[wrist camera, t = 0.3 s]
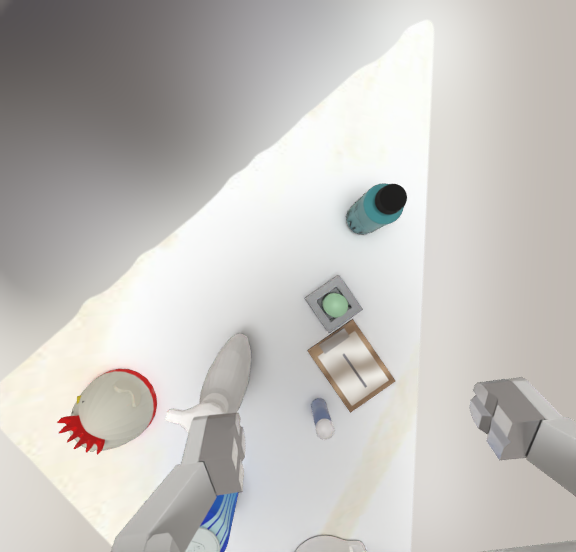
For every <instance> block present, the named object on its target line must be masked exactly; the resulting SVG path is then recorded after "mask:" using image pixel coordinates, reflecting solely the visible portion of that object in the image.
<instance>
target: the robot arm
mask: <svg viewBox="0 0 576 552" xmlns="http://www.w3.org/2000/svg"><path fill="white" fill-rule="evenodd" d="M473 391H474V392H475V394H476V395H475V396H474V397H473V398H472V399H471V402H470V411H471V416H472V418H473V420H474V422H475V424H476V425H477V427H478V428H479V429H480V430H482V431H483V432H485V433H486V434H487V442H488V444H489V445H490V447H491V448H492V450H493V451H494V453H495V454H496V456H497V457H498V459H499V460H507V459H518V458H527V460H528V461H529V462H531V463H532V464H533V465H535V466H536V467H537V468H539V469H540V470H541V471H543V472H544V473H545V474H547V475H548V476H549V477H551V478H552V479H553V480H555V481H556V482H557V483H559V484H560V485H561V486H563V487H564V488H565V489H567V490H568V491H569V492H571V493H572V494H573V495H574V496H576V421H575V420H573V419H571V418H568V417H566V418H563V417H562V416H561V415H560V413H559V412H558V411H557V410H556V409H555V408H554V407H553V406H552V405H551V404H550V403H549V402H548V401H547V400H546V399H545V398H544V397H543V396H542V395H541V394H540V393H539V392H538V391H537V390H536V389H535V388H534V387H533V385H531V383H530V382H529V381H528V380H526V379H525V378H523V377H519V378H511V379H501V380H493V381H486V382H480V383H477V384H475V386H474V389H473ZM244 457H245V436H244V430H243V427H241V426H240V416H239V413H227V414H216V415H207V416H197V417H194V418H193V420H192V422H191V425H190V429H189V433H188V438H187V442H186V446H185V450H184V454H183V458H182V462H181V464H180V465H176V466H175V467H174V469H173V470H172V471H171V472H170V473H169V475H168V476H167V477H166V478H165V479H164V481H163V482H162V483H161V484H160V485H159V486H158V488H157V489H156V490H155V491H154V492H153V494H152V495H151V496H150V497H149V498H148V500H147V501H146V502H145V503H144V504H143V506H142V507H141V508H140V509H139V510H138V511H137V513H136V514H135V515H134V516H133V517H132V519H131V520H130V521H129V522H128V523H127V525H126V526H125V527H124V528H123V529H122V531H121V532H120V533H119V534H118V535H117V536H116V538H115V541H114V544H113V546H112V549H111V552H185V551H186V549H187V547H188V546H189V544H190V542H191V541H192V539H193V537H194V535H195V534H196V532H197V530H198V529H199V527H200V525H201V523H202V522H203V520H204V518H205V517H206V515H207V513H208V511H209V510H210V508H211V506H212V505H213V503H214V501H215V499H216V498H217V497H216V496H217V495H224V494H230V493H237V492H242V491H243V477H244V469H243V465H242V460H243V459H244ZM295 552H367V551H366V549H365V547H364V544H363V543H362V542H361V541H346V540H342V539H340V538H337V537H333V536H317V537H314V538H311V539H309V540H307V541H305V542H304V543H303V544H301V545H300V546H299V547H298V548H297V550H296V551H295ZM483 552H576V540H574V541H565V542H558V543H549V544H541V545H532V546H525V547H517V548H508V549H500V550H492V551H483Z"/></svg>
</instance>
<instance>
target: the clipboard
mask: <svg viewBox="0 0 576 552" xmlns="http://www.w3.org/2000/svg"><path fill="white" fill-rule="evenodd" d="M308 352H309V354H310V355H311V357H312V358H313V359H314V361H315V362H316V364H317V365H318V367H319V368H320V370H321V371H322V372H323V374H324V375H325V377H326V378H327V380H328V381H329V383H330V384H331V385H332V387H333V388H334V390H335V391H336V393H337V394H338V395H339V397H340V398H341V400H342V401H343V403H344V404H345V406H346V407H347V408H348V410H349V411H350V413H351V412H352V411H353V410H355V409H356V408H358V407H359V406H361V405H362V404H363V403H365V402H366V401H368V400H369V399H371V398H372V397H373V396H375V395H376V394H378V393H379V392H381V391H382V390H384V389H385V388H386V387H388V386H389V385H391V384H392V383H394V382H395V380H394V378H393V377H392V375H391V374H390V372H389V371H388V370H387V368H386V367H385V365H384V364H383V362H382V361H381V359H380V358H379V356H378V355H377V354H376V352H375V351H374V349H373V348H372V346H371V345H370V343H369V342H368V341H367V339H366V338H365V336H364V335H363V333H362V332H361V330H360V329H359V328H358V326H357V325H356V323H355V322H354V320H353V319H352V320H351V321H349V322H348V323H346V324H345V325H343V326H342V327H340V328H339V329H338V330H336V331H335V332H333V333H332V334H330V335H329V336H328V337H326V338H325V339H323V340H322V341H320V342H319V343H317V344H316V345H315V346H313V347H312V348H310V349H309V350H308Z"/></svg>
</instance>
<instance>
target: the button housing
mask: <svg viewBox="0 0 576 552" xmlns="http://www.w3.org/2000/svg"><path fill="white" fill-rule="evenodd" d="M336 287H337V289H338V290H339V292H340V293H341V295H342V296H344V297H345V298H346V300H347V302H348V305H349V307H348V309H347V311H346V313H345V314H344V315H343V316H341V317H333V318H332V319H330V320H329V319H328V317H327V316H326V315H325V313H324V312H323V310H322V309H321V307H320V306H319V304H318V303H317V302H316V301H317V300H318V299H320V298H321V297H323V296H324V295H326V294H327V293H328V292H330V291H331V290H333V289H334V288H336ZM305 300H306V301H307V302H308V304H309V305H310V307H311V308H312V310H313V311H314V313H315V314H316V315H317V317H318V318H319V320H320V321H321V323H322V324H323V326H324V327H325V328H326V330H327V331H328V333H330V332H331V331H333V330H334V329H336V328H337V327H338V326H340V325H341V324H343V323H344V322H346V321H347V320H348V319H350V318H351V317H353V316H354V315H356V314H357V313H359V312H360V311H361V310H363V309H362V308H361V306H360V305H359V303H358V302H357V300H356V299H355V297H354V296H353V294H352V293H351V292H350V290H349V289H348V287H347V286H346V284H345V283H344V281H343V280H342V279H341V277H340V276H339V275H337V276H336V277H334V278H333V279H331V280H330V281H328V282H327V283H326V284H324V285H323V286H321V287H320V288H318V289H317V290H315V291H314V292H313V293H311V294H310V295H308V296H307V297H305Z"/></svg>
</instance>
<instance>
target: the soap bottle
mask: <svg viewBox="0 0 576 552" xmlns="http://www.w3.org/2000/svg"><path fill="white" fill-rule="evenodd" d="M250 366H251V349H250V345H249V341H248V337H247V336H245V335H243V334H239V333H238V334H235V335H234V336H232V337H231V338H230V339H229V340H228V341H227V343H226V344H225V345H224V346H223V348H222V349H221V351H220V352H219V353H218V355H217V357H216V359H215V360H214V362H213V364H212V365H211V367H210V369H209V371H208V373H207V376H206V378H205V381H204V384H203V387H202V390H201V395H200V404H198V405H196V406H195V407H193V408H190V409H187V410H184V411H182V410H178V409H170V410H169V411H168V412H167V415H166V419H165V420H166V421H167V422H171V423H175V424H180V425H181V426H182V427H183V428H184V429H185V430H186V431H187V432H188V433H189V429H190V425H191V422H192V420H193V418H194V417H197V416H207V415H216V414H227V413H237V411H238V409H239V408H240V405H241V403H242V400H243V397H244V394H245V391H246V388H247V385H248V382H249V375H250Z"/></svg>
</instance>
